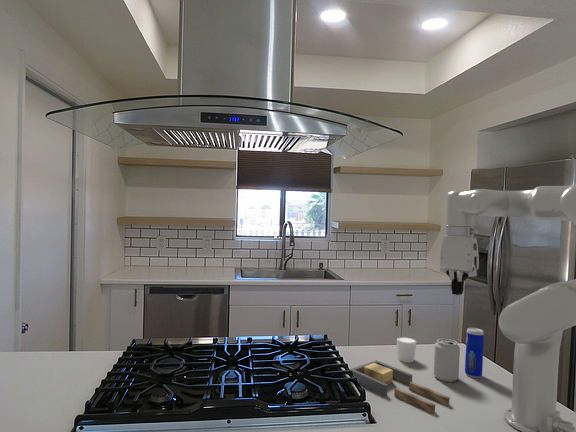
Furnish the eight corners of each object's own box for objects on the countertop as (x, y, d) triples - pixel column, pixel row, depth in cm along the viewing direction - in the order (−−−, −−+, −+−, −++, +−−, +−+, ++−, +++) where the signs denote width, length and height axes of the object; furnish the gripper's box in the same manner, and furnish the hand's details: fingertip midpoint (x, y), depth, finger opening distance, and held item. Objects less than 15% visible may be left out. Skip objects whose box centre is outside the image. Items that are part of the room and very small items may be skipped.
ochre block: (392, 382, 123) (392, 369, 123) (382, 387, 119) (383, 374, 119) (373, 375, 128) (374, 362, 128) (363, 379, 125) (364, 366, 125)
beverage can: (461, 372, 132) (463, 327, 132) (473, 371, 134) (475, 326, 134) (472, 379, 127) (475, 332, 127) (485, 377, 129) (487, 331, 129)
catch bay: (412, 384, 122) (412, 374, 122) (384, 395, 113) (385, 385, 113) (376, 369, 132) (376, 360, 132) (348, 378, 124) (349, 369, 124)
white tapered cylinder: (415, 357, 145) (415, 338, 145) (416, 364, 138) (417, 344, 138) (395, 354, 147) (396, 336, 147) (396, 361, 140) (397, 341, 140)
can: (460, 384, 123) (462, 346, 123) (435, 381, 124) (437, 343, 124) (455, 374, 130) (457, 338, 130) (431, 372, 132) (433, 336, 132)
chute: (449, 404, 110) (449, 397, 110) (432, 413, 104) (432, 405, 104) (411, 388, 119) (411, 381, 119) (394, 395, 114) (394, 388, 114)
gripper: (490, 233, 115) (488, 297, 115) (442, 230, 126) (440, 288, 126) (479, 234, 110) (476, 300, 110) (429, 231, 121) (427, 291, 122)
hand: (457, 294), depth 118 cm, fingers closed
